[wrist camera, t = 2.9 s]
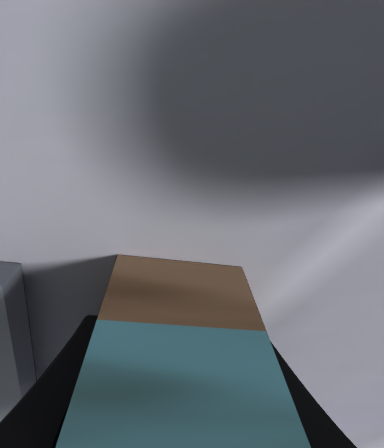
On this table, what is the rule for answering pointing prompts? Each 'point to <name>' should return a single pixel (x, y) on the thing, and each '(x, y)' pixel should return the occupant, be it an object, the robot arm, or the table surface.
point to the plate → (14, 339)
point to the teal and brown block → (180, 365)
